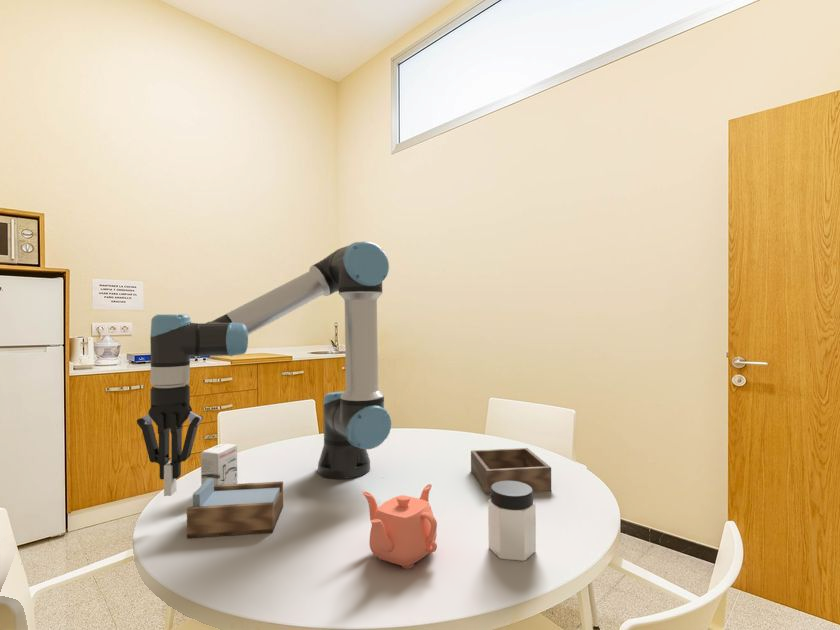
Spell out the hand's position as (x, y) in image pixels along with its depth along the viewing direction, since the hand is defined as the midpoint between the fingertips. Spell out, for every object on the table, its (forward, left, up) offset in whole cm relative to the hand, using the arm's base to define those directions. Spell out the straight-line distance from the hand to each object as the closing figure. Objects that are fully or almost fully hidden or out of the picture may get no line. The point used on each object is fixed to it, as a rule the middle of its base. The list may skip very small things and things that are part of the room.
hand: (170, 493), depth 99 cm
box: (-14, 0, -7) cm, 16 cm away
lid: (-14, 0, -3) cm, 15 cm away
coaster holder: (-81, -15, -7) cm, 83 cm away
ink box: (-5, -17, -7) cm, 19 cm away
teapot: (-48, +18, -7) cm, 52 cm away
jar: (-70, +20, -7) cm, 73 cm away
